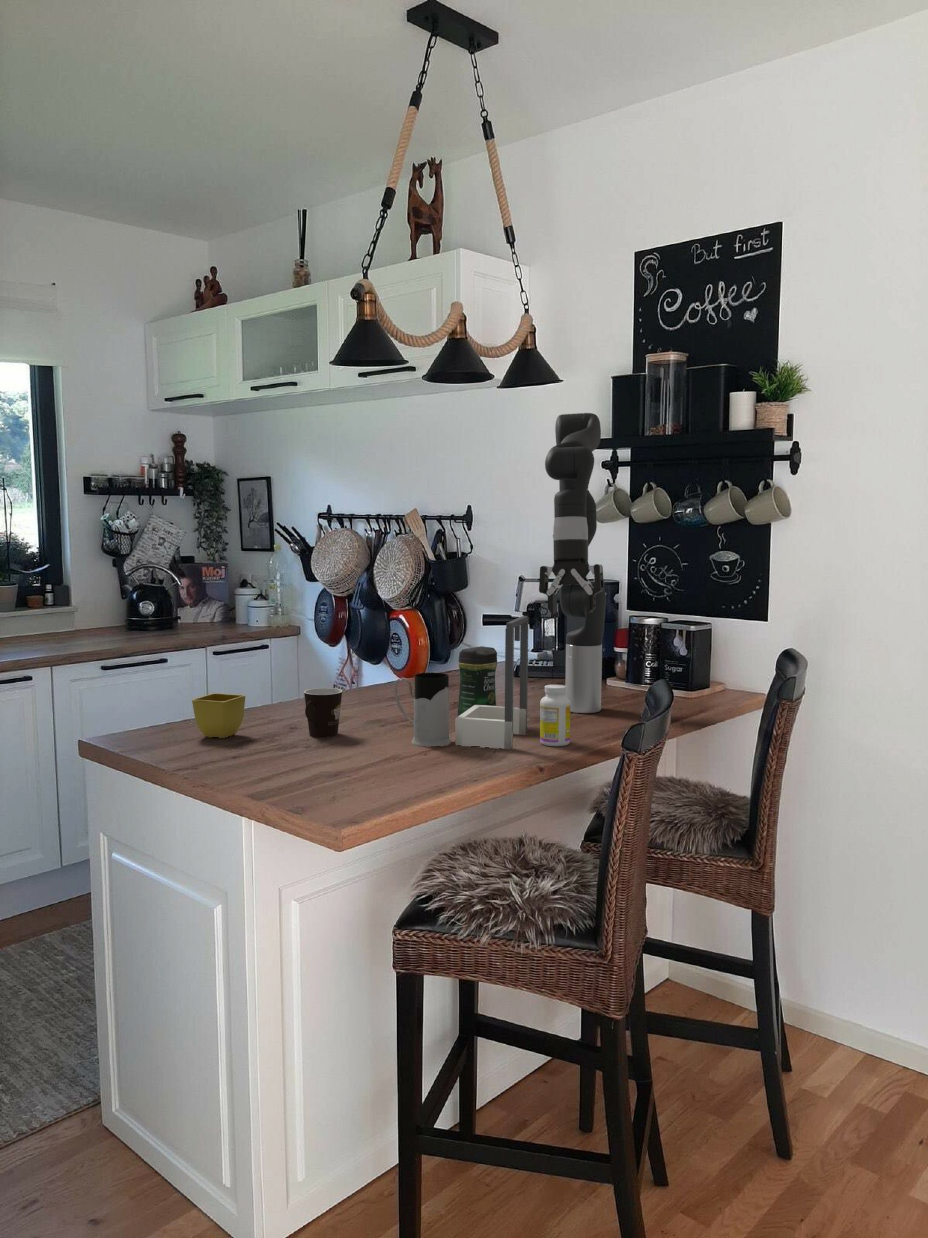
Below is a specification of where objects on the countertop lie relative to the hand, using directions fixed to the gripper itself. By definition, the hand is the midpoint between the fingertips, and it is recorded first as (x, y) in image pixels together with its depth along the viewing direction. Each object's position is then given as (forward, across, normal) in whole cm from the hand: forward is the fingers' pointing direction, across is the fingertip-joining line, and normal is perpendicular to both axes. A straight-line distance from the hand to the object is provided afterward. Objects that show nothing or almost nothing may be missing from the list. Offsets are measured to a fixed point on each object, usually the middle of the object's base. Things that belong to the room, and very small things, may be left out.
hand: (571, 612), depth 212 cm
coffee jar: (+27, +28, -10) cm, 40 cm away
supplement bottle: (+29, +4, +1) cm, 29 cm away
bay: (+28, +18, +4) cm, 33 cm away
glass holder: (+28, +31, +12) cm, 44 cm away
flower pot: (+27, +74, +30) cm, 84 cm away
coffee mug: (+27, +54, +19) cm, 64 cm away
